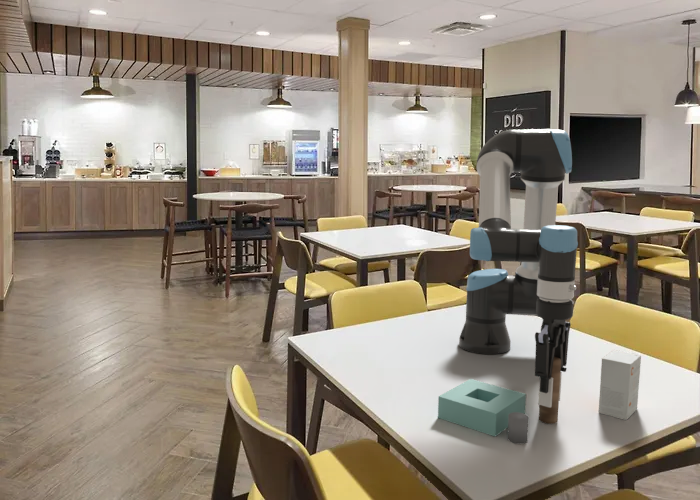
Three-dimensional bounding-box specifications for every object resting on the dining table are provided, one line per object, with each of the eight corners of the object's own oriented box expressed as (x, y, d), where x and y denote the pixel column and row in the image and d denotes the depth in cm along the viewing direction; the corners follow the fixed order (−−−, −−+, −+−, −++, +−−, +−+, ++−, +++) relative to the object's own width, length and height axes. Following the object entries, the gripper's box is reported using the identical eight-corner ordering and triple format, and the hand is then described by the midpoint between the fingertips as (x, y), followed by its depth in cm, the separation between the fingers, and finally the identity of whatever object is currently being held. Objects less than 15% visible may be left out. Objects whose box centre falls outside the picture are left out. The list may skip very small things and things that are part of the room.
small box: (609, 402, 147) (613, 349, 145) (637, 409, 143) (642, 354, 141) (597, 413, 141) (601, 357, 139) (626, 420, 137) (631, 364, 135)
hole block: (438, 417, 139) (438, 396, 138) (470, 398, 149) (470, 378, 148) (495, 436, 130) (496, 413, 129) (525, 415, 140) (526, 393, 139)
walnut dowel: (535, 420, 137) (538, 359, 135) (543, 414, 140) (546, 354, 138) (553, 425, 135) (556, 363, 132) (560, 419, 138) (564, 358, 135)
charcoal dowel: (503, 439, 128) (504, 416, 127) (512, 433, 131) (513, 410, 130) (522, 445, 126) (523, 422, 125) (530, 438, 129) (532, 415, 128)
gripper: (556, 308, 124) (549, 419, 128) (587, 294, 137) (580, 395, 141) (520, 302, 129) (515, 409, 133) (554, 289, 142) (548, 387, 146)
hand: (549, 402), depth 137 cm, fingers closed on walnut dowel, 4 cm apart
